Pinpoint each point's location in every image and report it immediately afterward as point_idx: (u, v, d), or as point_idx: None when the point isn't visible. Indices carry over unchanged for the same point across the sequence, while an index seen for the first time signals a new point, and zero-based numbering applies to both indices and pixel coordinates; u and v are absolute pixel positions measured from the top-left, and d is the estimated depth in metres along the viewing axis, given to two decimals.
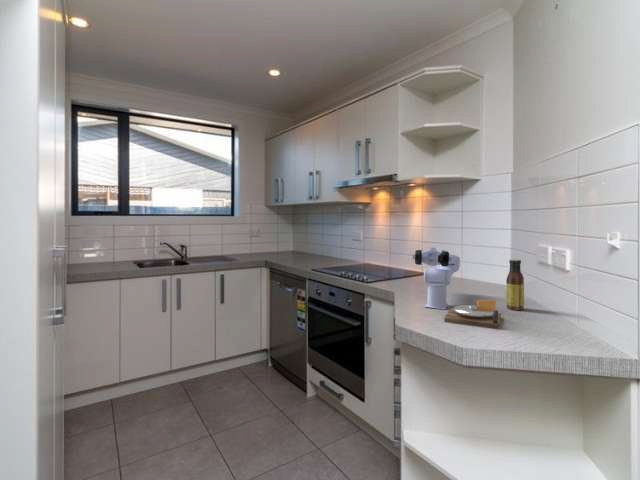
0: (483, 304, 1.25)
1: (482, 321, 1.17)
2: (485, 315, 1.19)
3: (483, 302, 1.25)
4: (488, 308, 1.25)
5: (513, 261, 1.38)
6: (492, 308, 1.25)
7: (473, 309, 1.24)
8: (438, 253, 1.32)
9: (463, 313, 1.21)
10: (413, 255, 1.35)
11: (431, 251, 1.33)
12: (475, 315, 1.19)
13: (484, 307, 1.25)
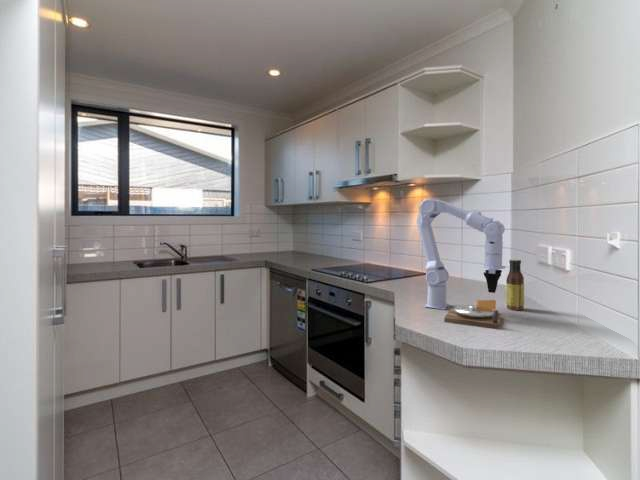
0: (483, 304, 1.25)
1: (482, 321, 1.17)
2: (485, 315, 1.19)
3: (483, 302, 1.25)
4: (488, 308, 1.25)
5: (513, 261, 1.38)
6: (492, 308, 1.25)
7: (473, 309, 1.24)
8: None
9: (463, 313, 1.21)
10: (493, 273, 1.23)
11: (500, 268, 1.28)
12: (475, 315, 1.19)
13: (484, 307, 1.25)
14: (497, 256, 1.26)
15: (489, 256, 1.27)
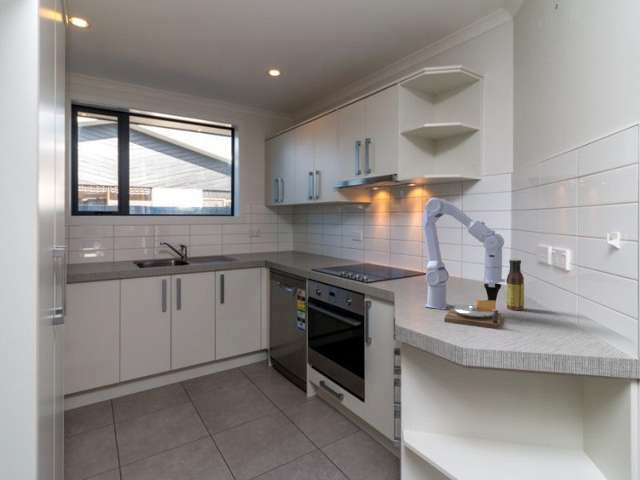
0: (483, 304, 1.25)
1: (482, 321, 1.17)
2: (485, 315, 1.19)
3: (483, 302, 1.25)
4: (488, 308, 1.25)
5: (513, 261, 1.38)
6: (492, 308, 1.25)
7: (473, 309, 1.24)
8: None
9: (463, 313, 1.21)
10: (493, 287, 1.23)
11: None
12: (475, 315, 1.19)
13: (484, 307, 1.25)
14: (497, 269, 1.27)
15: (489, 269, 1.28)
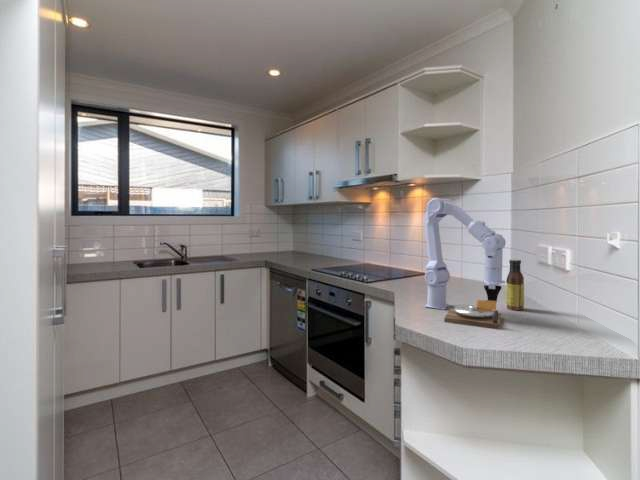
0: (483, 304, 1.24)
1: (482, 321, 1.17)
2: (485, 315, 1.19)
3: (483, 302, 1.24)
4: (488, 308, 1.25)
5: (513, 261, 1.38)
6: (492, 308, 1.25)
7: (473, 309, 1.24)
8: None
9: (463, 313, 1.21)
10: (493, 289, 1.20)
11: None
12: (474, 315, 1.19)
13: (484, 307, 1.25)
14: (497, 271, 1.23)
15: (489, 270, 1.24)
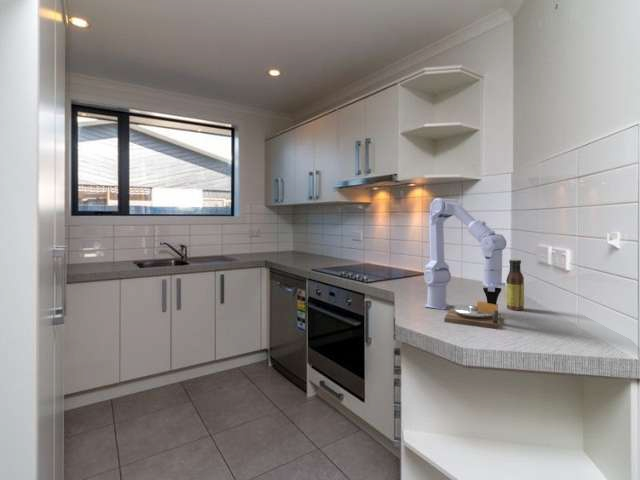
0: (482, 306, 1.22)
1: (482, 321, 1.17)
2: (467, 314, 1.20)
3: (482, 304, 1.22)
4: (488, 311, 1.21)
5: (513, 261, 1.38)
6: (492, 312, 1.20)
7: (469, 308, 1.25)
8: None
9: (454, 309, 1.27)
10: (493, 291, 1.15)
11: None
12: (458, 312, 1.23)
13: (483, 309, 1.22)
14: (496, 272, 1.18)
15: (488, 272, 1.19)
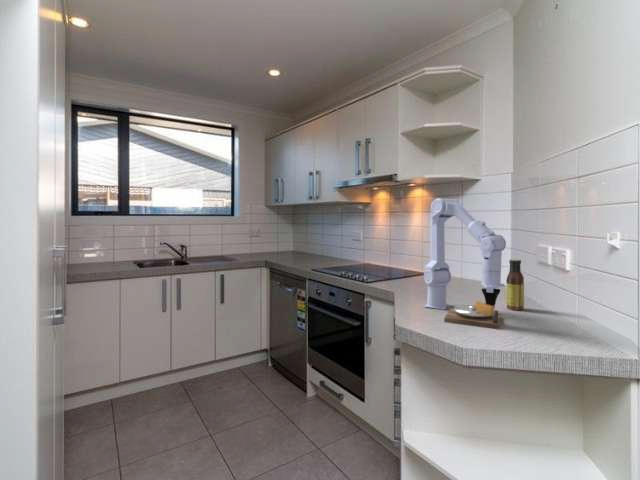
0: (479, 306, 1.22)
1: (482, 321, 1.17)
2: (460, 312, 1.22)
3: (480, 304, 1.21)
4: (484, 312, 1.20)
5: (513, 261, 1.38)
6: (488, 313, 1.18)
7: (469, 308, 1.25)
8: None
9: None
10: (491, 292, 1.14)
11: None
12: (455, 310, 1.25)
13: (480, 309, 1.21)
14: (495, 273, 1.17)
15: (487, 273, 1.18)
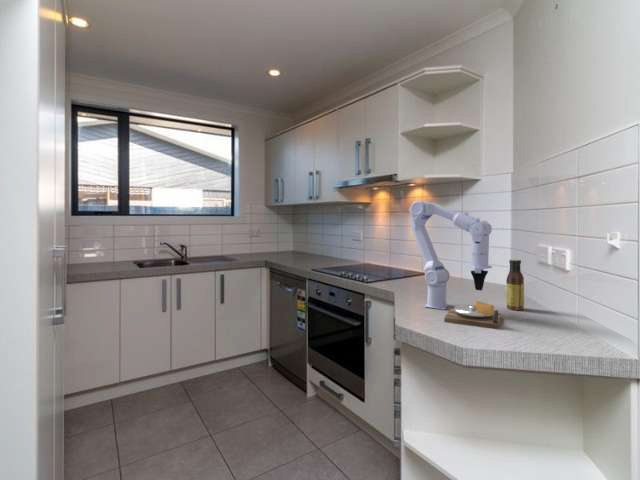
0: (479, 306, 1.22)
1: (482, 321, 1.17)
2: (460, 312, 1.22)
3: (479, 304, 1.21)
4: (484, 312, 1.20)
5: (513, 261, 1.38)
6: (488, 313, 1.18)
7: (469, 308, 1.25)
8: None
9: None
10: (479, 273, 1.24)
11: None
12: (454, 310, 1.25)
13: (480, 309, 1.21)
14: (483, 256, 1.28)
15: (475, 256, 1.29)
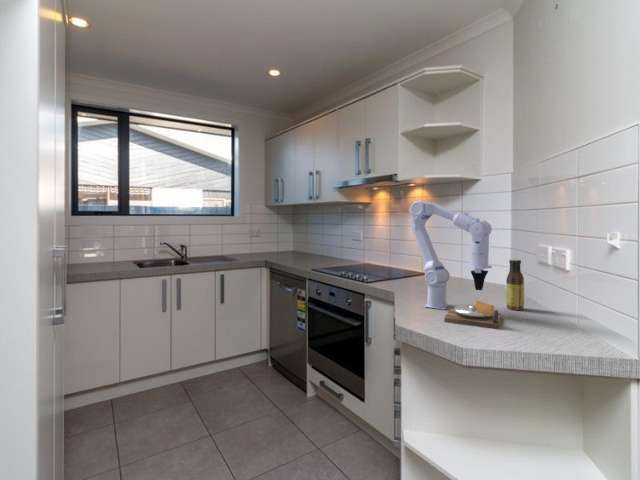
0: (479, 306, 1.22)
1: (482, 321, 1.17)
2: (460, 312, 1.22)
3: (479, 304, 1.21)
4: (484, 312, 1.20)
5: (513, 261, 1.38)
6: (488, 313, 1.18)
7: (469, 308, 1.25)
8: None
9: None
10: (479, 273, 1.24)
11: (486, 268, 1.29)
12: (454, 310, 1.25)
13: (480, 309, 1.21)
14: (483, 256, 1.28)
15: (475, 256, 1.29)
